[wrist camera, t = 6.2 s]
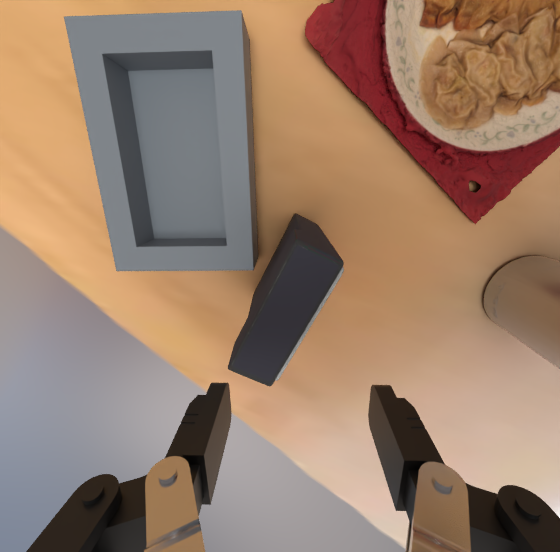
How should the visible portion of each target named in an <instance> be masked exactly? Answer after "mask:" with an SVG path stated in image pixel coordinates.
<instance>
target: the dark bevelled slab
mask: <svg viewBox="0 0 560 552" xmlns="http://www.w3.org/2000/svg"><path fill="white" fill-rule="evenodd" d="M343 264H344V263H343V260H342V259H341V257H340V256H339V255H338V253H337V252H336V250H335V249H334V247H333V246H332V244H331V243H330V242H329V240H328V239H327V237H326V236H325V234H324V233H323V232H322V230H321V229H320V227H319V226H318V225H317V224H315V223H313V222H311V221H310V220H308V219H306V218H304V217H302V216H300V215H298V214H294V216H293V218H292V219H291V221H290V223H289V225H288V227H287V229H286V231H285V233H284V235H283V237H282V239H281V241H280V243H279V245H278V247H277V249H276V251H275V253H274V255H273V257H272V259H271V261H270V263H269V265H268V267H267V269H266V271H265V273H264V275H263V277H262V278H261V280H260V282H259V284H258V286H257V288H256V290H255V292H254V295H253V299H252V303H251V307H250V311H249V315H248V318H247V320H246V322H245V324H244V326H243V328H242V330H241V332H240V334H239V336H238V338H237V340H236V342H235V344H234V347H233V351H232V354H231V358H230V362H229V365H228V369H229V370H231V371H233V372H235V373H238V374H240V375H243V376H245V377H248V378H250V379H253V380H255V381H257V382H260V383H262V384H265V385H267V386H271V385H272V384H273V383H274V381H275V380H276V381H277V380H278V379H279V378H280V376H281V375H282V373H283V371H284V370H285V368H286V366H287V365H288V363H289V361H290V360H291V358H292V356H293V355H294V353H295V351H296V350H297V348H298V346H299V345H300V343H301V341H302V340H303V338H304V337H305V335H306V333H307V332H308V330H309V328H310V327H311V325H312V323H313V322H314V320H315V318H316V317H317V315H318V313H319V312H320V310H321V308H322V307H323V305H324V303H325V302H326V300H327V298H328V297H329V295H330V294H331V292H332V290H333V289H334V287H335V285H336V284H337V282H338V280H339V279H340V277H341V275H342V273H343V271H344V268H343Z"/></svg>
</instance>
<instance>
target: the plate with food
mask: <svg viewBox="0 0 560 552" xmlns="http://www.w3.org/2000/svg"><path fill="white" fill-rule="evenodd" d="M305 36H306V37H307V39H308V40H309V42H310V43H311V45H312V46H313V47H314V49H316V50H318V51H319V52H320V55H321V57H323V58H324V59H323V61H325V63H326V64H327V65H328V66H329V67H330V68H331V69H332V70H333V71H334V72H335V73H336V74H337V75H338V76H339V77H340V79H341V80H342V81H343V82H344V83H345V84H346V85H347V86H348V88H350V89H351V91H352V92H353V93H354V94H355V95H356V96H357V97H359V98H360V99H361V100H362V101H364V102H365V103H366V104H367V105H368V106H369V107H370V108H371V110H372V111H373V113H374V114H375V115H376V116H377V117H378V118H379V120H380V121H381V122H382V123H383V124H384V125H386V126H387V127H388V128H389V129H390V130H391V132H392V133H393V134H394V135H395V136H396V138H397V139H398V140H399V141H400V142H401V143H402V145H403V146H404V147H405V148H407V150H408V151H409V152H410V153H411V154H412V156H413V157H414V158H415V159H416V160H417V162H418V163H419V164H420V165H421V166H422V167H424V168H425V169H426V171H427V172H428V173H430V174H431V175H432V176H433V178H434V179H435V180H436V181H437V183H438V185H439V186H440V187H442V188H443V189H444V191H445V192H446V193H447V194H449V196H450V197H451V198H452V199H454V201H455V203H456V204H457V205H458V206H459V208H460V209H461V210H462V211H463V212H464V213H465V214H466V215H467V216H468V218H469V219H470V220H472V221H473V223H475V224H476V223H477V222H478V221H479V220H480V219H481V217H482V216H484V215H485V214H486V213H488V211H489V210H490V209H492V208H493V207H494V206H495V204H496V203H497V202H499V201H501V200H503V199H505V198H506V197H507V196H508V195H509V194H510V192H511V189H513V187H515V186H516V185H517V184H518V183H519V182H520V181H522V179H523V178H524V177H526V176H527V175H528V174H530V173H532V171H533V170H534V169H535V168H536V167H537V166H538V165H540V164H541V163H542V162H543V161H544V160H545V159H547V158H548V157H549V156H550V155H551V154H552V153H553V152H554V151H555V150H556V149H557V148H558V147H559V146H560V0H334V2H333V3H326V4H323V3H322V4H321V5H320V6H318V7H317V8H316V10H315V11H314V12H313V14H312V15H311V16H310V17H309V19H308V20H307V22H306V28H305ZM470 180H472V181H476V182H477V183H479V184H480V185H481V188H480V189H479V190H478V192H477V193H473V192H471V191H469V181H470Z"/></svg>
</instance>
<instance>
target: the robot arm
mask: <svg viewBox="0 0 560 552" xmlns="http://www.w3.org/2000/svg"><path fill="white" fill-rule="evenodd" d="M484 309H485V311H486V313H487V315H488V317H489V318H490V319H491V320H492V321H493V322H494V323H496V324H497V325H499V326H500V327H501V328H503V329H504V330H506V331H507V332H508V333H510V334H511V335H513V336H514V337H515V338H517V339H518V340H519V341H521V342H522V343H524V344H525V345H526V346H528V347H529V348H531V349H532V350H533V351H535V352H536V353H538V354H539V355H541V356H542V357H543V358H545V359H546V360H548V361H549V362H550V363H552V364H553V365H555V366H556V367H558V368H559V369H560V261H558V260H555V259H551V258H548V257H544V256H527V257H522V258H519V259H517V260H514V261H512V262H510V263H509V264H507V265H505V266H504V267H503V268H501V269H500V270H499V271H498V272H497V273H496V274H495V275H494V276H493V277H492V279H491V280H490V282H489V284H488V285H487V288H486V291H485V294H484ZM368 417H369V426H370V430H371V433H372V436H373V439H374V442H375V446H376V449H377V452H378V455H379V458H380V461H381V465H382V468H383V471H384V474H385V477H386V481H387V484H388V487H389V490H390V493H391V496H392V500H393V503H394V506H395V509H396V511H406V512H407V515H408V518H409V527H408V534H407V542H406V551H405V552H560V518H559V517H558V516H557V515H556V514H555V512H554V511H553V510H552V509H551V508H550V507H549V506H548V505H547V504H546V503H545V502H544V501H543V500H542V499H541V498H539V497H538V496H537V495H535V494H534V493H532V492H530V491H528V490H526V489H524V488H521V487H518V486H513V485H507V486H503V487H502V488H501V489H500V490H499V492H498V494H495V493H492V492H489V491H486V490H483V489H479V488H476V487H473V486H471V485H469V484H467V483H465V482H464V480H463V479H462V478H461V477H460V475H459V474H458V473H457V472H455V471H454V470H453V469H452V468H450V467H448V466H446V465H445V464H444V462H443V460H442V458H441V456H440V454H439V453H438V451H437V449H436V447H435V445H434V443H433V441H432V440H431V438H430V436H429V434H428V432H427V430H426V429H425V426H424V425H423V423H422V421H421V420H420V417H419V415H418V413H417V412H416V410H415V408H414V407H413V406H412V405H411V404H410V403H409V402H408V401H407V400H406V399H405V398H397V397H396V395H395V393H394V391H393V389H392V387H391V386H390V385H372V387H371V393H370V403H369V414H368ZM230 423H231V402H230V390H229V384H228V383H211V384H210V386H209V389H208V391H207V394H206V395H198V396H197V397H196V398H195V399H194V400H193V401H192V402H191V403H190V404H189V406H188V408H187V410H186V413H185V416H184V417H183V419H182V422H181V424H180V426H179V428H178V430H177V433H176V435H175V437H174V439H173V442H172V444H171V446H170V448H169V450H168V453H167V455H166V457H165V459H162V460H161V461H160V462H158V463H156V464H155V465H154V466H153V467H152V468H151V470H150V471H149V473H148V474H147V475H145V476H143V477H140V478H137V479H134V480H130V481H126V482H123V483H120V484H119V482H118V480H117V478H116V477H115V476H113V475H110V474H102V475H98V476H96V477H93V478H91V479H89V480H88V481H86V482H85V483H83V484H82V485H81V486H80V487H79V488H78V489H77V490H76V491H75V492H74V493H73V494H72V496H71V497H70V498H69V499H68V501H67V502H66V503H65V504H64V505H63V507H62V508H61V509H60V511H59V512H58V513H57V514H56V515H55V517H54V518H53V519H52V520H51V522H50V523H49V524H48V525H47V527H46V528H45V529H44V530H43V532H42V533H41V534H40V535H39V537H38V538H37V539H36V540H35V542H34V543H33V544H32V545H31V547H30V548H29V549H28V550H27V552H205V549H204V543H203V538H202V532H201V527H200V523H199V517H198V516H199V513H200V509H201V505H202V504H211V500H212V497H213V493H214V489H215V485H216V481H217V477H218V472H219V468H220V464H221V460H222V456H223V452H224V448H225V444H226V440H227V436H228V432H229V428H230Z"/></svg>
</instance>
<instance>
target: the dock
mask: <svg viewBox="0 0 560 552" xmlns="http://www.w3.org/2000/svg"><path fill="white" fill-rule="evenodd" d="M64 19H65V24H66V29H67V34H68V38H69V43H70V48H71V53H72V58H73V63H74V68H75V72H76V77H77V82H78V87H79V92H80V97H81V101H82V106H83V111H84V116H85V121H86V126H87V131H88V135H89V140H90V145H91V150H92V155H93V160H94V165H95V169H96V174H97V179H98V184H99V189H100V194H101V198H102V203H103V208H104V213H105V218H106V223H107V228H108V232H109V237H110V242H111V247H112V252H113V257H114V261H115V266H116V271H218V270H254V268H255V265H256V262H257V260H258V234H257V210H256V185H255V161H254V136H253V111H252V87H251V62H250V39H249V36H248V32H247V29H246V25H245V22H244V18H243V15H242V11H241V10H240V11H211V12H182V13H154V14H125V15H96V16H67V17H64Z"/></svg>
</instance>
